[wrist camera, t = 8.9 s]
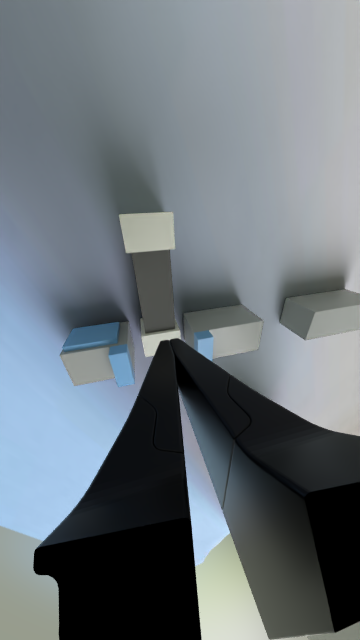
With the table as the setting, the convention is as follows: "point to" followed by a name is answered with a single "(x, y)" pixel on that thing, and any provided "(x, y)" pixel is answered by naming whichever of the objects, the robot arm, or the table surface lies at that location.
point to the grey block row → (207, 334)
